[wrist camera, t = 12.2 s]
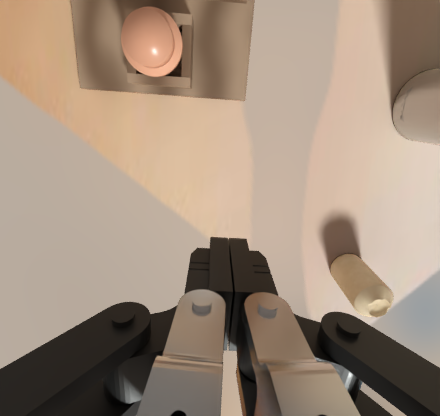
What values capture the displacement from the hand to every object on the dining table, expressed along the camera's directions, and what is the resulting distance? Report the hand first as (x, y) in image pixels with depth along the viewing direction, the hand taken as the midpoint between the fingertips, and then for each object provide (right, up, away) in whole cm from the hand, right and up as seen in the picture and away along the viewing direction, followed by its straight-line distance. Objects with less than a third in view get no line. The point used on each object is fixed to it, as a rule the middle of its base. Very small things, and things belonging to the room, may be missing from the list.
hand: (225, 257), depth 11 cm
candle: (+21, -8, +35) cm, 41 cm away
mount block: (-7, +26, +21) cm, 34 cm away
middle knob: (-7, +20, +19) cm, 28 cm away
